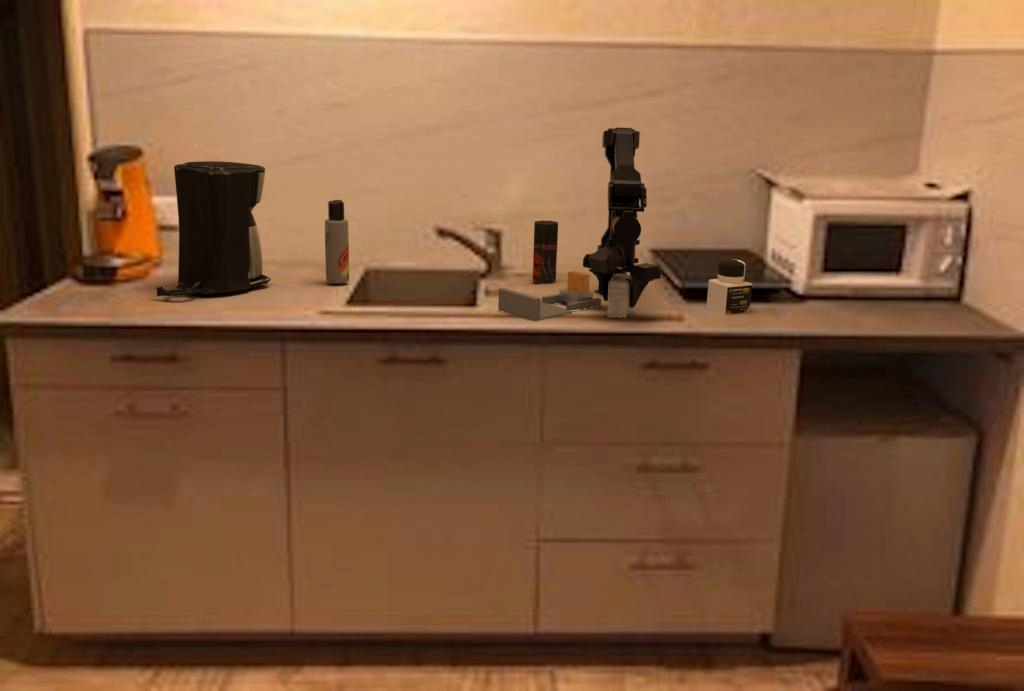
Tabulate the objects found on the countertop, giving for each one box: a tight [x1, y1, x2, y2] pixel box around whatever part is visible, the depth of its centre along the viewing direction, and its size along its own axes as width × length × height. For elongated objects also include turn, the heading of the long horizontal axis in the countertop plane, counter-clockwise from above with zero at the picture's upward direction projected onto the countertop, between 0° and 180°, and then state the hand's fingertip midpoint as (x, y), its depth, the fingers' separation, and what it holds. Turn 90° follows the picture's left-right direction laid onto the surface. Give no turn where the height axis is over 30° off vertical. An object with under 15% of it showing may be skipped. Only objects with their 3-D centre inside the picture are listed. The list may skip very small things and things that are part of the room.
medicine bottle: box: [706, 258, 753, 315], centre depth 232 cm, size 7×7×12 cm
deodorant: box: [532, 220, 559, 285], centre depth 257 cm, size 6×6×15 cm
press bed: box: [497, 287, 602, 322], centre depth 230 cm, size 22×12×5 cm, turn 131°
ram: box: [558, 270, 594, 303], centre depth 234 cm, size 5×6×6 cm
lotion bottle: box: [324, 199, 350, 284], centre depth 249 cm, size 6×6×20 cm
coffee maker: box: [154, 160, 272, 297], centre depth 238 cm, size 20×28×29 cm
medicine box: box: [606, 273, 632, 319], centre depth 226 cm, size 8×4×9 cm, turn 168°
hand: (618, 304), depth 227 cm, fingers closed on medicine box, 7 cm apart
